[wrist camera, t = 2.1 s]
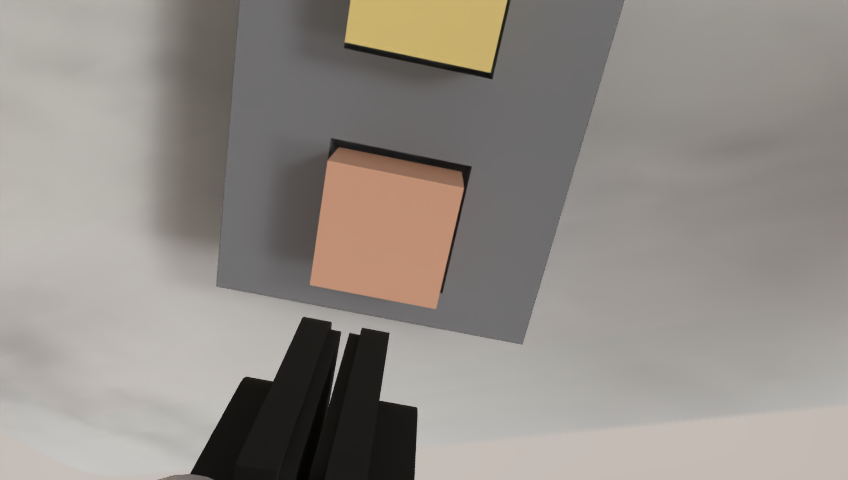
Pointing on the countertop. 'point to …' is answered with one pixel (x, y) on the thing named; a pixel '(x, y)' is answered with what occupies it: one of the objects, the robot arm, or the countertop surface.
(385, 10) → the ochre key
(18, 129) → the countertop surface
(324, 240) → the terracotta key
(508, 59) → the console
